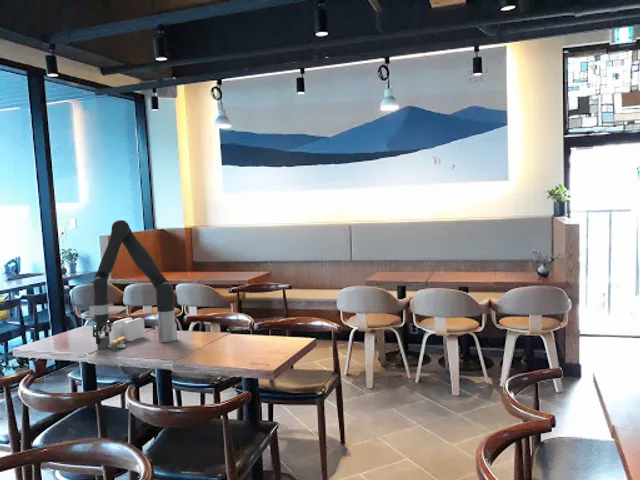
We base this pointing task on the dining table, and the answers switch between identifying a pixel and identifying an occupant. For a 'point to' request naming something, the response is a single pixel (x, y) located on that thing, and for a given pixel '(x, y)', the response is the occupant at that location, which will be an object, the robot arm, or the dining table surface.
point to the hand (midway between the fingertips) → (102, 342)
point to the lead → (107, 343)
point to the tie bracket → (115, 343)
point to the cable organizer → (128, 329)
